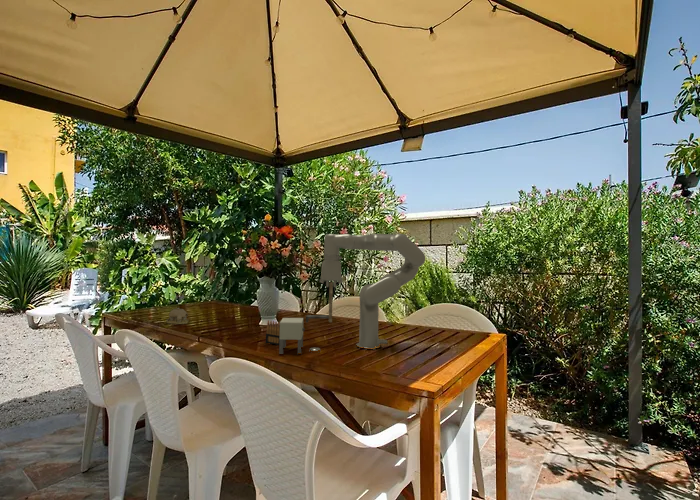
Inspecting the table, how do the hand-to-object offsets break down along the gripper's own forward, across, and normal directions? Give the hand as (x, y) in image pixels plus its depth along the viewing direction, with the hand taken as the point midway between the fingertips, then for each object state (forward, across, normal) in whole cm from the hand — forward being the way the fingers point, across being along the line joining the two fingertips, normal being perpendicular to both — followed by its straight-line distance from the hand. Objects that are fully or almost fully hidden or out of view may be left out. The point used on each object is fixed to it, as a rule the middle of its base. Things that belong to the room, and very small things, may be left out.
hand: (330, 294), depth 191 cm
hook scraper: (+14, +6, 0) cm, 15 cm away
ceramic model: (+27, +100, -66) cm, 123 cm away
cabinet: (+26, +18, +9) cm, 33 cm away
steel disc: (+27, +7, +9) cm, 29 cm away
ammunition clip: (+27, +28, -5) cm, 39 cm away
